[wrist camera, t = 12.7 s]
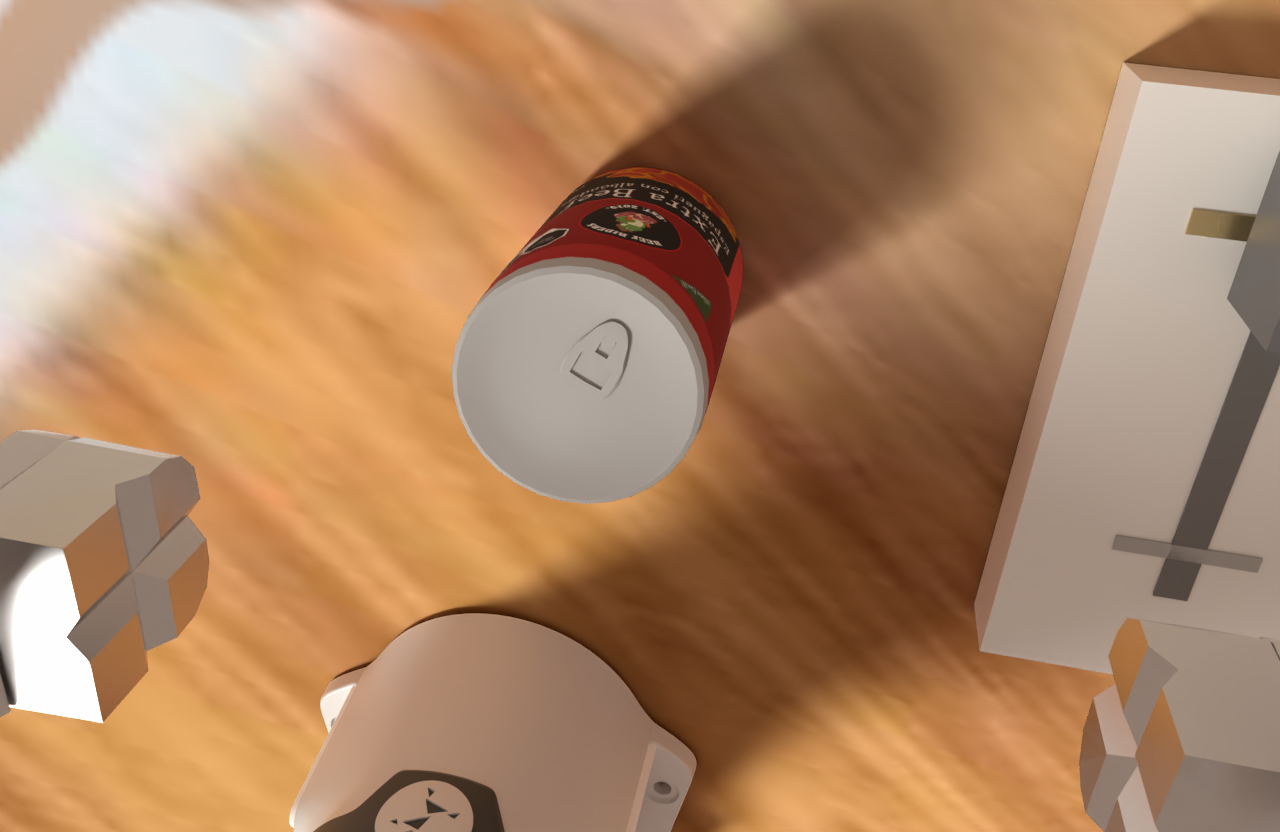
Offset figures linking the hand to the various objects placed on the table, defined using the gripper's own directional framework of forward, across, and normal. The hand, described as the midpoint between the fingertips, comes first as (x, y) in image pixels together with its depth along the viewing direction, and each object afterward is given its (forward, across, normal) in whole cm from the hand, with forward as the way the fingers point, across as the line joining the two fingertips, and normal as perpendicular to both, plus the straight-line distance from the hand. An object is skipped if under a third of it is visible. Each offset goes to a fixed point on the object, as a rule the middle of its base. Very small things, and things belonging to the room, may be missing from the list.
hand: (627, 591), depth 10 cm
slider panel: (+31, +16, -11) cm, 37 cm away
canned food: (+31, -5, -9) cm, 33 cm away
